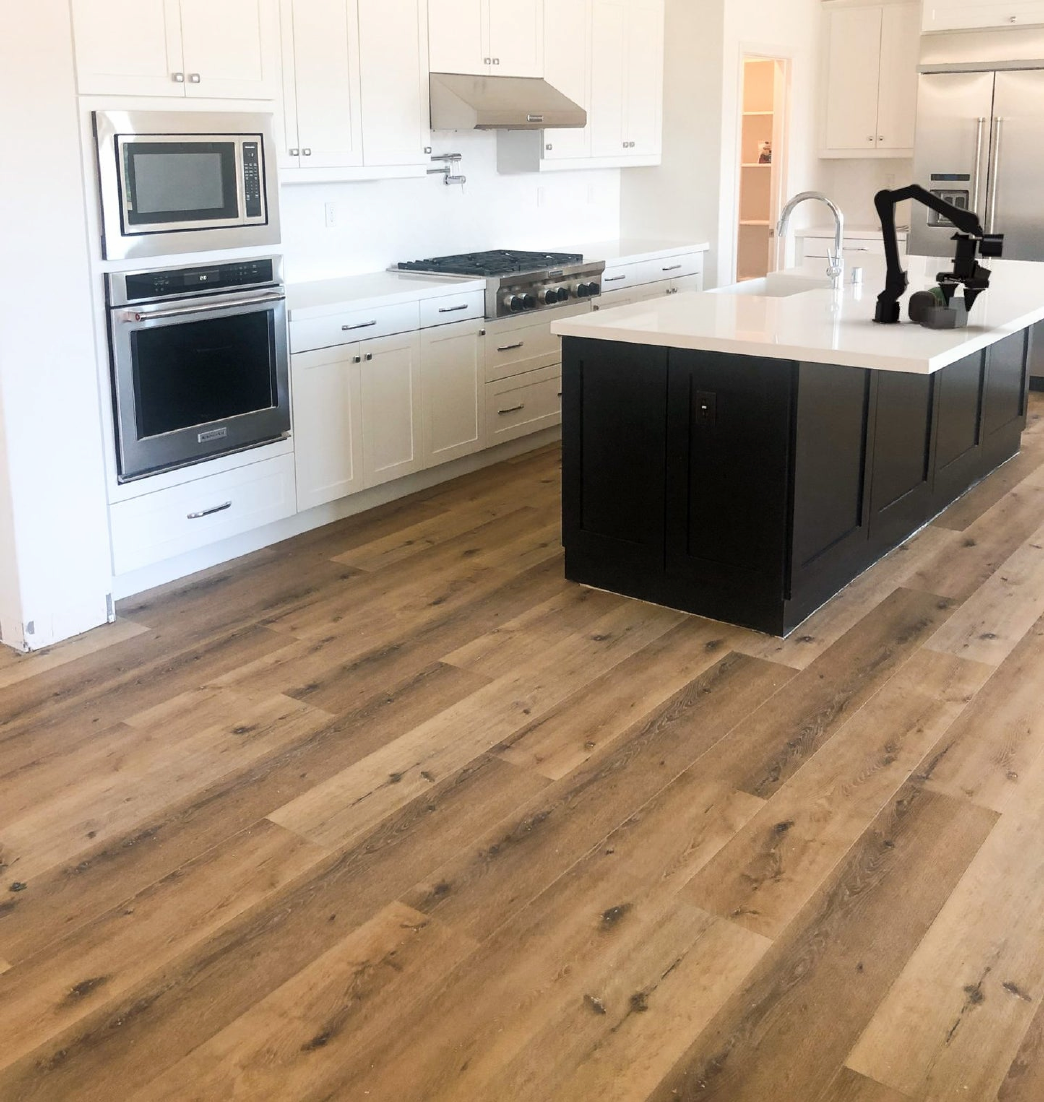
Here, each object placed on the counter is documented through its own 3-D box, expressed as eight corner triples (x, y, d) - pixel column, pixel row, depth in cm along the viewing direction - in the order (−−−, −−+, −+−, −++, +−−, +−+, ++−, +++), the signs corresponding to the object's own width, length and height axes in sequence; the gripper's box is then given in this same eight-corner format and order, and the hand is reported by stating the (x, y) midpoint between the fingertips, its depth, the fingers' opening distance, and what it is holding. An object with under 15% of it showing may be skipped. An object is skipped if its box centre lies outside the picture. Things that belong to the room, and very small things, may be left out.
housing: (934, 329, 358) (936, 310, 356) (920, 325, 365) (922, 307, 363) (954, 328, 360) (956, 309, 358) (940, 325, 366) (943, 306, 364)
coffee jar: (929, 285, 381) (907, 290, 368) (954, 287, 377) (932, 292, 363) (926, 316, 384) (904, 322, 371) (951, 318, 380) (929, 325, 366)
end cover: (936, 327, 359) (939, 300, 356) (925, 325, 364) (928, 297, 361) (968, 326, 362) (971, 298, 359) (956, 323, 367) (960, 296, 364)
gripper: (1008, 258, 351) (1001, 313, 356) (969, 252, 368) (963, 304, 373) (975, 259, 348) (968, 314, 353) (937, 253, 365) (931, 305, 370)
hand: (958, 309), depth 362 cm, fingers open, 9 cm apart
